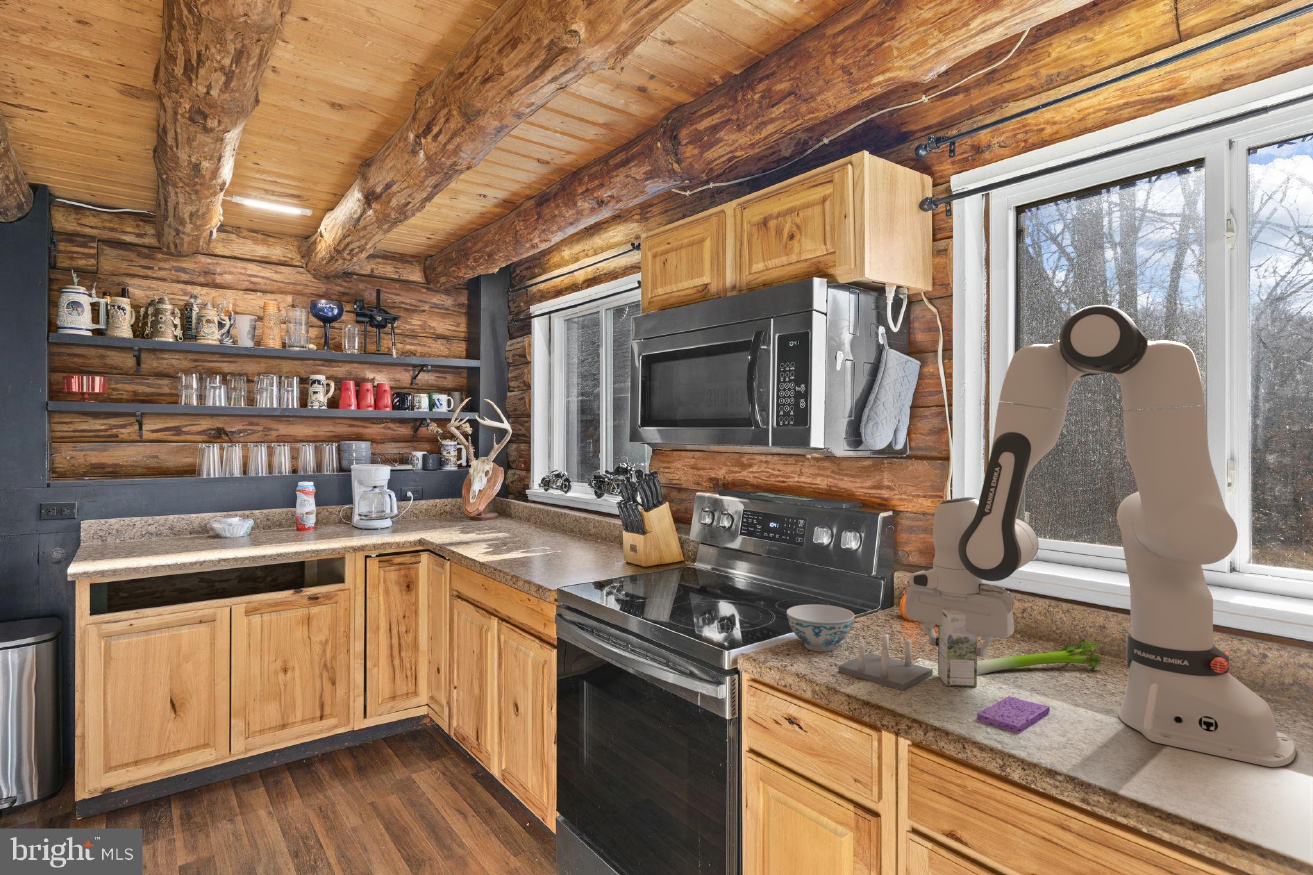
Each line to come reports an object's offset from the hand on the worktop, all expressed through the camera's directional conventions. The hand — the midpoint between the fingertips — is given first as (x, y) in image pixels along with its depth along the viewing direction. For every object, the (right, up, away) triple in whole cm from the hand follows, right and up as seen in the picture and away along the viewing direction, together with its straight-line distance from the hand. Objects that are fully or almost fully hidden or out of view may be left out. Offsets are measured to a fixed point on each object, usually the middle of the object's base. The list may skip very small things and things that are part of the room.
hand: (957, 650), depth 136 cm
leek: (+18, -7, +6) cm, 20 cm away
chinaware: (-22, -6, +22) cm, 32 cm away
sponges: (+3, -7, -16) cm, 18 cm away
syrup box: (0, -6, 0) cm, 6 cm away
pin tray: (-13, -6, +5) cm, 15 cm away
